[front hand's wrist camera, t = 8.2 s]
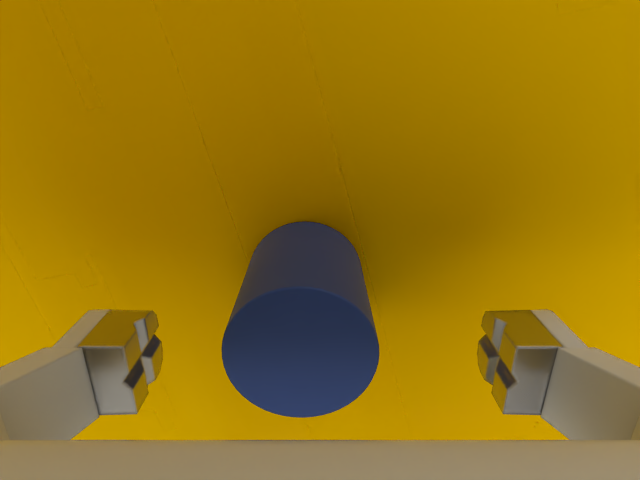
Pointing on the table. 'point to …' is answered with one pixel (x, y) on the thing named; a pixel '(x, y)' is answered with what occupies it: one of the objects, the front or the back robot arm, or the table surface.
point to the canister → (302, 324)
